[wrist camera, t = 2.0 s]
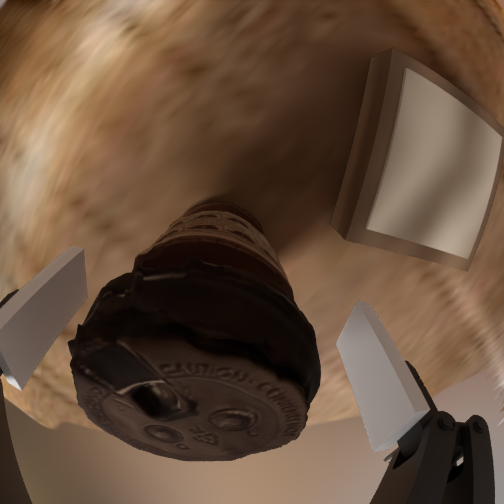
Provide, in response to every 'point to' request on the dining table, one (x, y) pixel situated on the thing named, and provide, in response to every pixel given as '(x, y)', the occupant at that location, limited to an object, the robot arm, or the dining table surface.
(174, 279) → the coffee cup
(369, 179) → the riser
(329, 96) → the dining table surface
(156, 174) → the dining table surface
